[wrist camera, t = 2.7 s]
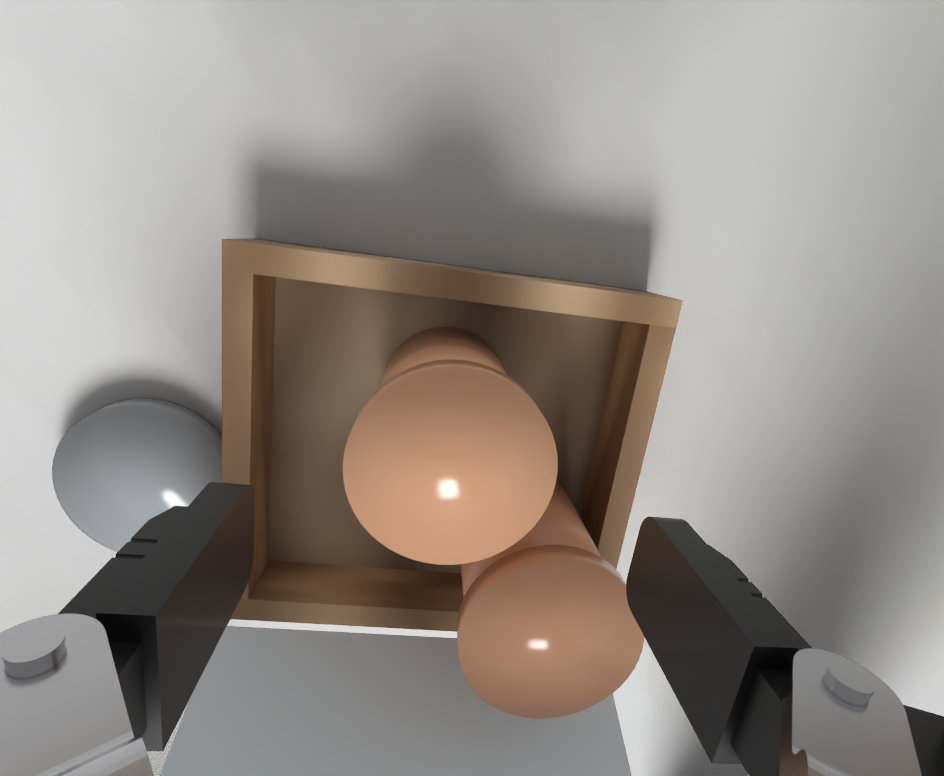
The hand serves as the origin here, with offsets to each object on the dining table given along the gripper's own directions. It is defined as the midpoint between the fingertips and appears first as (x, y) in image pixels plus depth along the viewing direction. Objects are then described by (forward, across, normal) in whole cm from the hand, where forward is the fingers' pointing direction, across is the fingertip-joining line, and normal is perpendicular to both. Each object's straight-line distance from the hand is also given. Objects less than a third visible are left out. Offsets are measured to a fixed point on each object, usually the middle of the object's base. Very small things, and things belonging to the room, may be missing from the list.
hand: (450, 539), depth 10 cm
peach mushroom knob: (+11, 0, 0) cm, 11 cm away
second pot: (+11, -4, +6) cm, 13 cm away
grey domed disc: (+12, +12, +6) cm, 18 cm away
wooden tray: (+12, 0, +3) cm, 12 cm away
